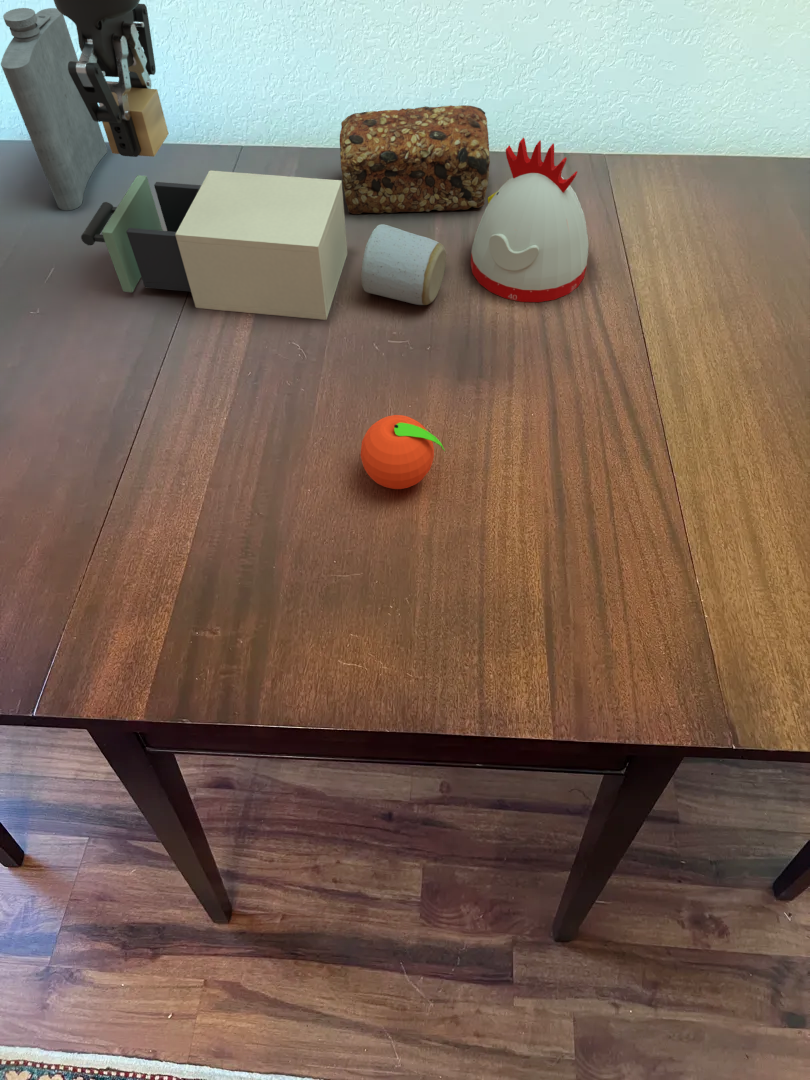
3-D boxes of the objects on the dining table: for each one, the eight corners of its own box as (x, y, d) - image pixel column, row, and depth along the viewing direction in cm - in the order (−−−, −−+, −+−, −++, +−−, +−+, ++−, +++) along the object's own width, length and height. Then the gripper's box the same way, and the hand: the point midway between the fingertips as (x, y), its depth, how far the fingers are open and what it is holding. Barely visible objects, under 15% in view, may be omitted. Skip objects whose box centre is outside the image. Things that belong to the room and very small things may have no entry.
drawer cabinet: (195, 308, 91) (174, 234, 83) (225, 243, 98) (209, 170, 90) (326, 320, 89) (318, 246, 82) (347, 254, 97) (341, 180, 89)
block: (112, 153, 79) (97, 108, 76) (127, 130, 82) (114, 86, 78) (154, 156, 79) (141, 111, 75) (168, 134, 82) (157, 89, 78)
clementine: (448, 455, 78) (451, 403, 72) (438, 509, 74) (440, 460, 68) (370, 445, 78) (366, 394, 73) (355, 499, 74) (350, 449, 69)
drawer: (87, 288, 92) (63, 228, 85) (122, 231, 98) (101, 172, 92) (243, 302, 90) (230, 243, 84) (267, 243, 96) (257, 184, 90)
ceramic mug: (427, 320, 89) (429, 262, 83) (361, 305, 91) (357, 246, 85) (456, 268, 95) (459, 209, 89) (393, 254, 97) (392, 195, 90)
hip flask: (78, 210, 102) (15, 44, 86) (48, 210, 103) (-22, 43, 86) (109, 146, 111) (57, -16, 95) (82, 146, 112) (25, -16, 95)
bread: (480, 169, 107) (486, 94, 99) (487, 215, 101) (493, 138, 93) (345, 172, 107) (339, 97, 99) (343, 217, 101) (337, 141, 93)
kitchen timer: (499, 220, 100) (511, 100, 88) (601, 250, 96) (628, 128, 84) (451, 281, 93) (457, 159, 81) (559, 315, 89) (583, 193, 77)
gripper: (73, -90, 71) (129, 104, 85) (2, -27, 63) (77, 176, 77) (152, -86, 70) (195, 109, 84) (91, -22, 62) (150, 182, 76)
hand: (139, 140), depth 80 cm, fingers closed on block, 4 cm apart
